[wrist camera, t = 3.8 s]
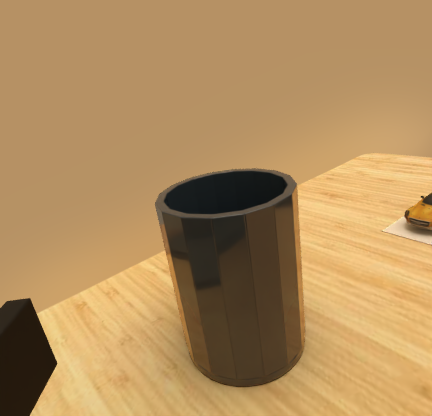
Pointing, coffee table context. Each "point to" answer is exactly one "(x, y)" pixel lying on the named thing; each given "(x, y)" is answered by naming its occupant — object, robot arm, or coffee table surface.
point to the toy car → (415, 222)
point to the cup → (236, 272)
